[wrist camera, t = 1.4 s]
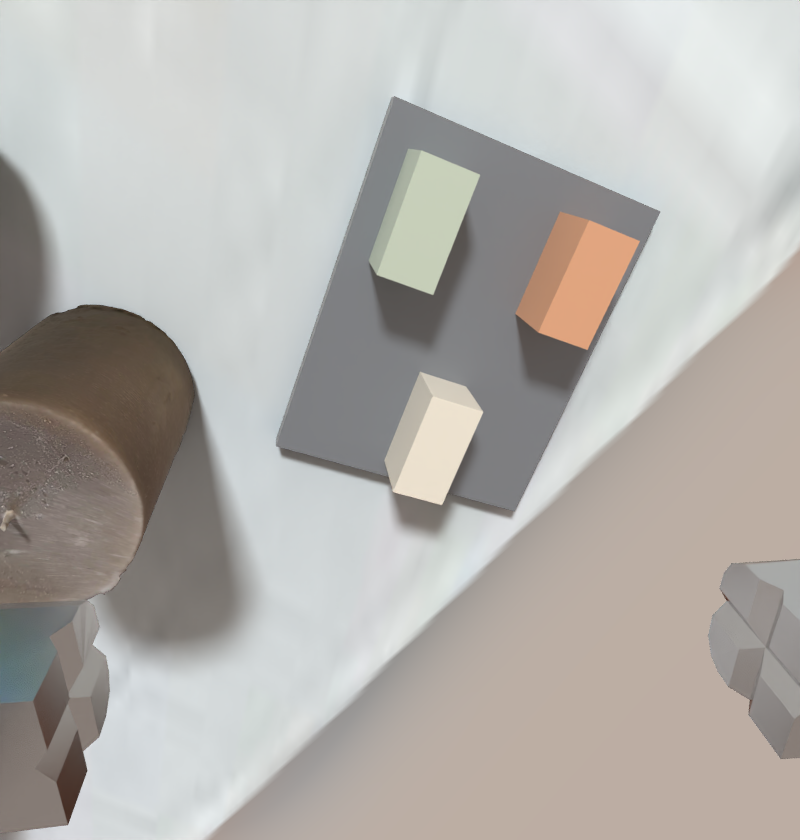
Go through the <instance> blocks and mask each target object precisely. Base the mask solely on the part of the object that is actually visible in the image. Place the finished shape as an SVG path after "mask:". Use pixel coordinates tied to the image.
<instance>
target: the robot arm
mask: <svg viewBox="0 0 800 840" xmlns="http://www.w3.org/2000/svg"><path fill="white" fill-rule="evenodd" d="M720 590H721V592H722V594H723V595H724V597H725V599H726V600H727V601H726V602H725V603H724V604H723V605H722V606H721V607H720V608H719V609H718V610H717V611H716V612H715V613H714V614H713V615H712V620H711V625H710V630H709V634H708V637H709V644H710V650H711V656H712V659H713V661H714V664H715V666H716V668H717V671H718V672H719V674H720V675H721V677H722V678H723V680H724V681H725V682H726V684H727V686H728V687H730V688H731V689H733V690H734V691H736V692H738V693H739V694H741V695H743V696H744V697H746V698H748V699H749V700H750V702H749V716H750V717H751V719H752V720H753V722H754V723H755V724H756V726H757V727H758V728H759V730H760V731H761V733H762V734H763V735H764V737H765V738H766V739H767V741H768V742H769V743H770V745H771V746H772V747H773V749H774V750H775V752H776V753H777V754H778V756H779V757H780V759H788V758H800V559H793V560H778V561H762V562H745V563H731V565H730V566H729V567H728V568H727V570H726V571H725V572H724V575H723V578H722V582H721V585H720ZM98 630H99V623H98V619H97V615H96V611H95V607H94V605H93V604H91V603H90V602H89V601H87V600H83V601H55V602H28V603H2V604H0V833H6V832H14V831H23V830H31V829H39V828H48V827H56V826H64V825H68V823H69V821H70V818H71V815H72V812H73V809H74V807H75V804H76V801H77V798H78V795H79V793H80V790H81V787H82V784H83V781H84V779H85V776H86V773H87V767H86V762H85V758H84V754H83V751H84V750H85V749H86V748H87V747H88V746H90V745H91V744H92V743H93V742H94V741H95V740H96V739H97V738H99V736H100V733H101V730H102V727H103V724H104V721H105V718H106V713H107V706H108V699H109V692H110V687H109V670H108V665H107V660H106V656H105V655H104V654H103V653H102V652H101V651H99V650H98V649H97V648H96V647H95V646H93V645H92V644H93V642H94V640H95V637H96V635H97V632H98Z"/></svg>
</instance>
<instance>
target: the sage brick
mask: <svg viewBox="0 0 800 840" xmlns="http://www.w3.org/2000/svg"><path fill="white" fill-rule="evenodd" d="M479 177H480V174H477V173H475V172H472V171H470V170H468V169H465V168H463V167H460V166H458V165H456V164H453V163H451V162H448V161H446V160H444V159H441V158H439V157H436V156H434V155H432V154H429V153H427V152H424V151H422V150H415V149H408V151H407V153H406V156H405V159H404V162H403V165H402V168H401V170H400V173H399V176H398V179H397V182H396V185H395V187H394V190H393V193H392V196H391V199H390V201H389V204H388V207H387V210H386V213H385V216H384V218H383V221H382V224H381V227H380V230H379V233H378V235H377V238H376V241H375V244H374V247H373V250H372V252H371V255H370V258H369V262H370V264H371V266H372V268H373V269H374V271H375V273H376V275H378V276H381V277H384V278H387V279H389V280H392V281H395V282H398V283H401V284H404V285H406V286H409V287H412V288H415V289H418V290H420V291H423V292H426V293H429V294H432V295H433V294H434V292H435V289H436V286H437V284H438V281H439V279H440V276H441V274H442V271H443V269H444V266H445V264H446V261H447V258H448V256H449V253H450V251H451V248H452V246H453V243H454V241H455V238H456V236H457V233H458V230H459V228H460V225H461V223H462V220H463V218H464V215H465V213H466V210H467V208H468V205H469V202H470V200H471V197H472V195H473V192H474V190H475V187H476V185H477V182H478V180H479Z"/></svg>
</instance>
